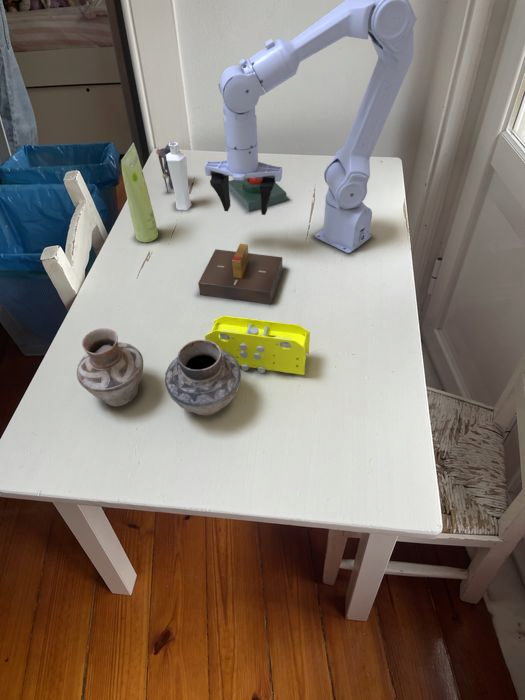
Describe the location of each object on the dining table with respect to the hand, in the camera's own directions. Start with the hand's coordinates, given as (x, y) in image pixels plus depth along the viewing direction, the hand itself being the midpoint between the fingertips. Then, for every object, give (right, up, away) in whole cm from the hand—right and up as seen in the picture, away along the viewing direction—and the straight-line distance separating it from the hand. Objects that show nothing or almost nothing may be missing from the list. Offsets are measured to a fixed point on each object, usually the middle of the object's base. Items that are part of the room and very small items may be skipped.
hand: (245, 210), depth 97 cm
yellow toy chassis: (+3, -30, -15) cm, 34 cm away
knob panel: (-1, -14, -1) cm, 14 cm away
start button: (+2, +12, +19) cm, 23 cm away
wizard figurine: (-19, +13, +25) cm, 34 cm away
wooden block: (-1, -12, -3) cm, 13 cm away
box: (+2, +10, +22) cm, 24 cm away
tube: (-22, -3, +11) cm, 25 cm away
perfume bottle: (-16, +7, +19) cm, 26 cm away
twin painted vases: (-12, -36, -20) cm, 43 cm away
